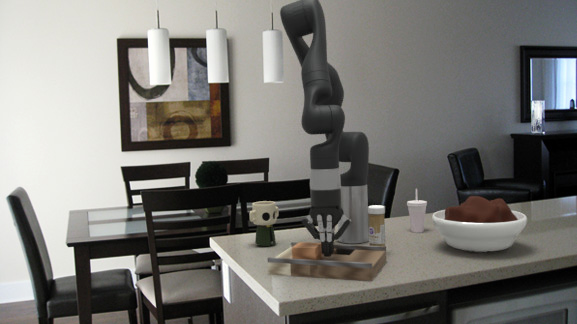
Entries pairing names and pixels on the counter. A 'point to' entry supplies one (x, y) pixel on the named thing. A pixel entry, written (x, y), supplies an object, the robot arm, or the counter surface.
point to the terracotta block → (307, 251)
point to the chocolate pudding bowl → (479, 225)
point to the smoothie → (417, 214)
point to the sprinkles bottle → (376, 225)
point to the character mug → (264, 221)
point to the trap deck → (333, 263)
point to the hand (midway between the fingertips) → (327, 255)
